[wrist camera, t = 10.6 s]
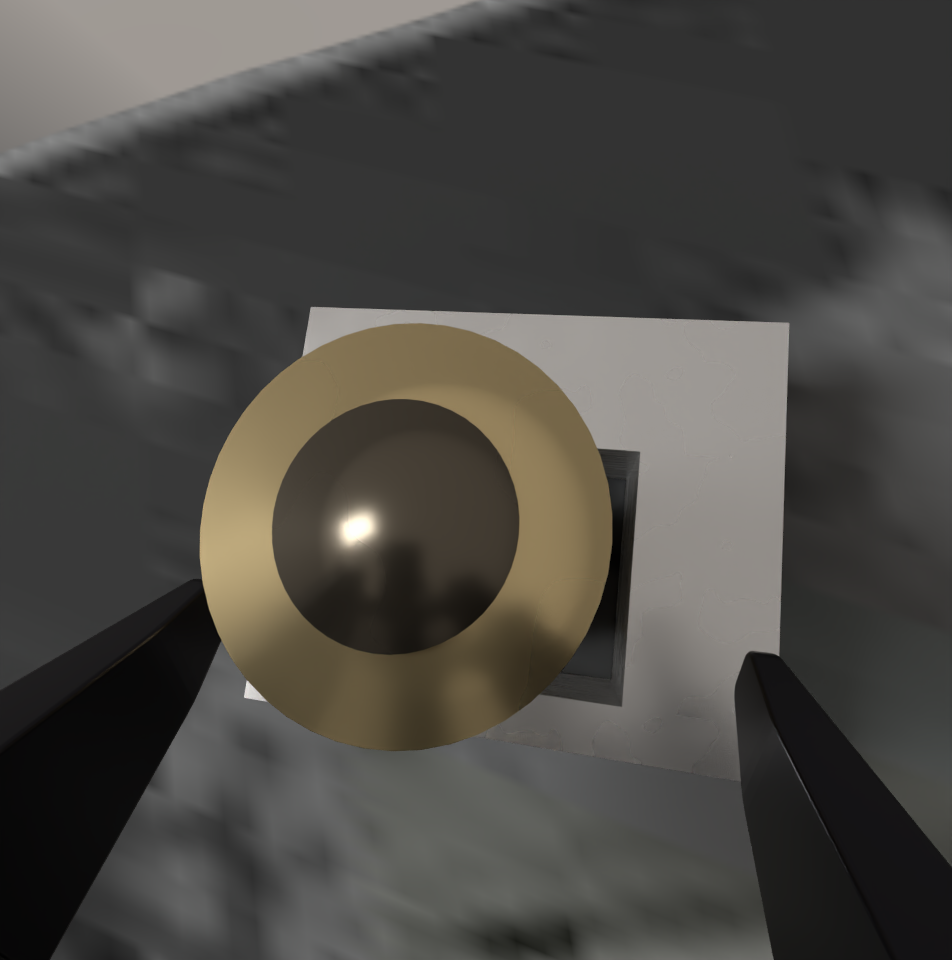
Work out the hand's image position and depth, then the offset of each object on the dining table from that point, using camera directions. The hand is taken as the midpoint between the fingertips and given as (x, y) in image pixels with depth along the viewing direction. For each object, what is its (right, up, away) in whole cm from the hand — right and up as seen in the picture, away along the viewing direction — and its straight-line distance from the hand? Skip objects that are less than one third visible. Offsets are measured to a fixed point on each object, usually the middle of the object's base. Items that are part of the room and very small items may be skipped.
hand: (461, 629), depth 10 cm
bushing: (+2, 0, +9) cm, 9 cm away
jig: (+2, +1, +9) cm, 9 cm away
